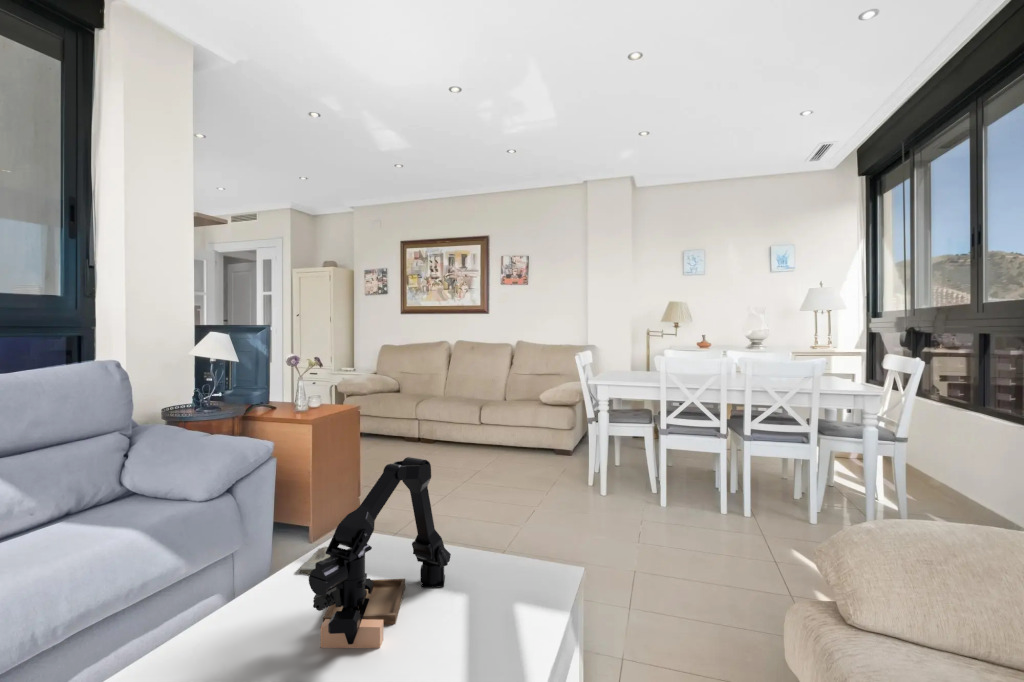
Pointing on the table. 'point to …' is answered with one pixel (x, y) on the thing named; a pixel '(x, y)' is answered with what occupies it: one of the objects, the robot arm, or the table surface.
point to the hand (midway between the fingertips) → (352, 639)
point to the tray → (379, 601)
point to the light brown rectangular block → (365, 637)
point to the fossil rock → (314, 560)
